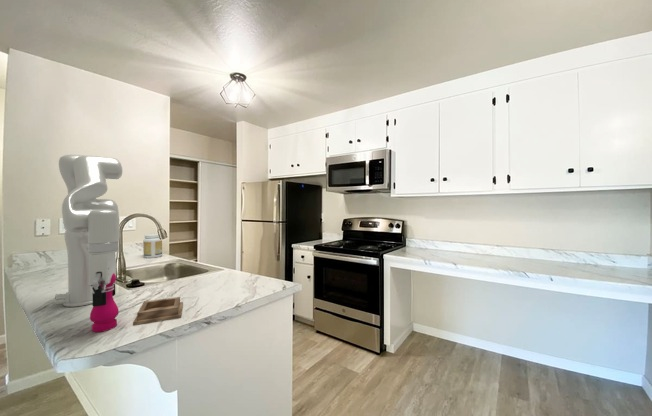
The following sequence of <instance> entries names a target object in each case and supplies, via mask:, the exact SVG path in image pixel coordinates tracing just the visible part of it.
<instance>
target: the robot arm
mask: <svg viewBox="0 0 652 416" xmlns="http://www.w3.org/2000/svg"><path fill="white" fill-rule="evenodd" d="M58 170H59V173H60V175H61V178H62V180H63V182H64V183H65V186H66V189H67V194H66V196H65V197H64V199H63V201H62V205H61V215H62V223H63V226H64V229H65V230H64V231H65V232H64V235H63V236H64V241H65V246H66V251H67V271H68V272H67V277H68V278H67V279H68V280H67V283H68V284H67V285H68V292H65V293H58V294H57V293H56V294H55V296H54V300H56V301H62V300H64V301H63V302H62V303H63V304H62V305H63V306H64V307H69V308H71V307H72V308H73V307H81V306H83V307H84V306H88V305H92V308H93V307H96V306H103V305H106V292H105V288H106V285H107V284H109V283H110V282H111V278H112V275H113V273H114V274H115V275H116V276H117V261H116V257H117V255H116V253H118V252H119V250H120V249H119V248H120V247H119V243H120V238H121V231H120V230H121V229H120V214H119V207H118V206H119V205H118V204H117V202H116V201H115V200H112V199H107V198H104V199H103V198H99V197H102V196H104V195H105V194H106V193H107V191H108V185H107V184H108V183H107V180H119V179H120V178H121V177H122V175H123V166H122V163H121V162H120V161H119V160H118V159H117V158H113V157H107V156H106V157H105V156H97V155H84V154H83V155H82V154H65V155H62V156H60V157H59V159H58ZM106 179H107V180H106ZM113 285H114V289H113V291H112V295H113V297H115V296H116V281H115V282H114V283H113ZM101 286H102V287H101Z"/></svg>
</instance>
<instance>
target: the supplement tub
mask: <svg viewBox="0 0 652 416" xmlns="http://www.w3.org/2000/svg"><path fill="white" fill-rule="evenodd" d="M158 234H159V233H153V234H152V233H151V234H150V233H149V234H144V239H143V243H142V244H143V258H145V259H155V258H160V257H162V256H163V239H162V240H160V239H159V237H158Z"/></svg>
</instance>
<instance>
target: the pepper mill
mask: <svg viewBox="0 0 652 416" xmlns="http://www.w3.org/2000/svg"><path fill="white" fill-rule="evenodd" d="M116 280H117V274H116V275H115V274H114V273H113V275H112V278H111V282H110V283H109V284H107V285H106V288H105V292H106V305H103V306H96V307H93V306H92V308H91V311H90V314H89V320H90V321H91V322H92V323H93V324H92V325H91V331H92V332H94V333H101V332H106V331H109V330H113V329H115V328H116V326H117V325H118V320H117V318H116V317H118V316H119V313H120V312H119V307H118V305H117V303H116V302H115V300H114V296H113V295H112V291H113V289H114V285H113V283H114V282H115V283H116ZM101 287H102V286H101Z"/></svg>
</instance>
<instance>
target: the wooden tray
mask: <svg viewBox="0 0 652 416" xmlns="http://www.w3.org/2000/svg"><path fill="white" fill-rule="evenodd" d="M183 308H184V302H183V301H181V297H180V296H176V297H168V298H160V299H154V300H152V299H151V300H146V301H145V300H144V301H143V303H142V304H141V306H140V308H139V310H138V312H137V314H136V316H135V318H134V320H133V322H132V326H138V325H143V324H150V323H156V322H163V321H169V320H174V319H181V318H182V313H183Z"/></svg>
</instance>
